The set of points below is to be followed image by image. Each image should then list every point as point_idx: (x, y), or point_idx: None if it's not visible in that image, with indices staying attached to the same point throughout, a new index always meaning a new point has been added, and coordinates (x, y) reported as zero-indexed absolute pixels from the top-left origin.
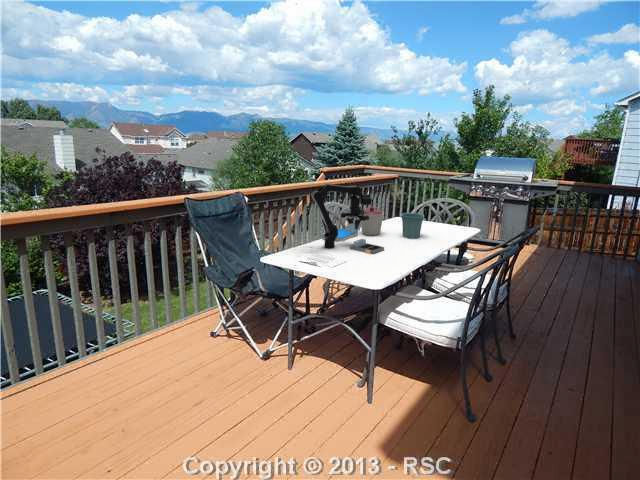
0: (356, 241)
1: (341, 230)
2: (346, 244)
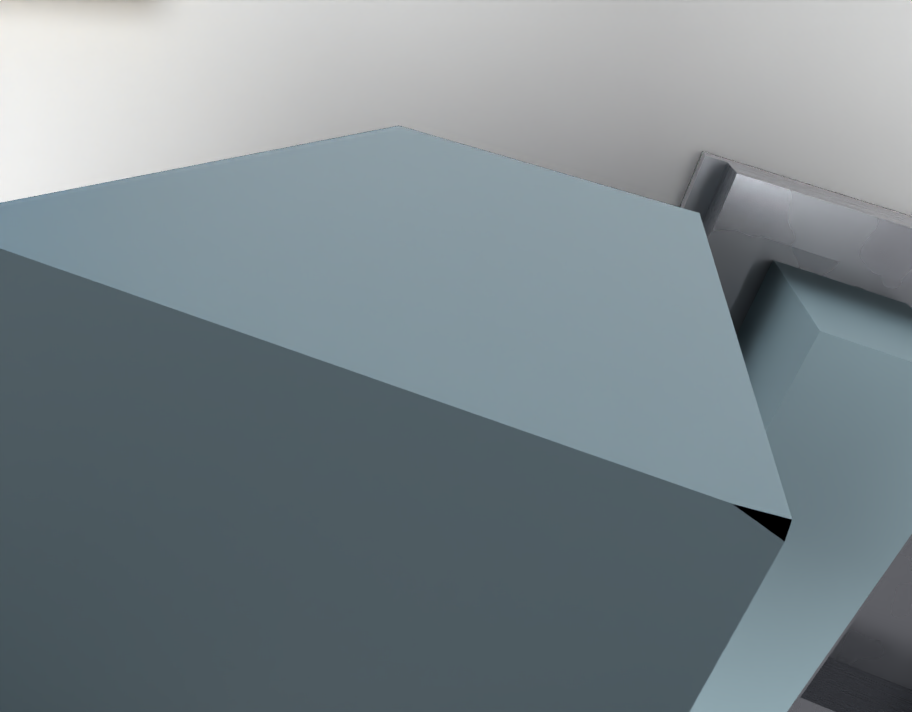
0: (704, 703)
1: None
2: (302, 111)
